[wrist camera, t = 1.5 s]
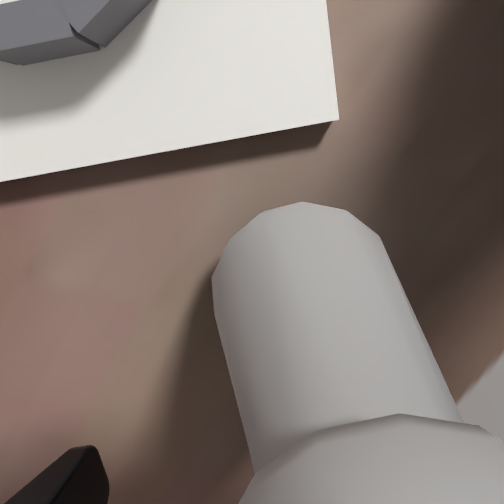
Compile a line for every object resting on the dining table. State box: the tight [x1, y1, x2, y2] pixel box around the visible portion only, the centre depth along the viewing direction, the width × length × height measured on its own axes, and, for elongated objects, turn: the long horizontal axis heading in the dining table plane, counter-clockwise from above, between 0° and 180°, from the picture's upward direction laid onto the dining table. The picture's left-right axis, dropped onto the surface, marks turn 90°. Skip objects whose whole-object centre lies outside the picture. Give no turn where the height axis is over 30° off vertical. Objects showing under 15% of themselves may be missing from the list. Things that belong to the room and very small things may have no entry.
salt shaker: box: [211, 202, 504, 504], centre depth 9 cm, size 6×6×13 cm
